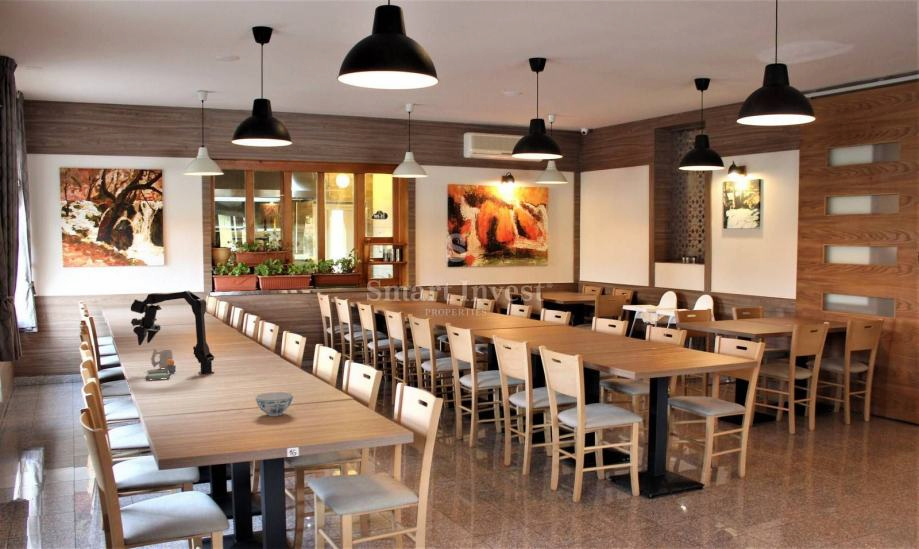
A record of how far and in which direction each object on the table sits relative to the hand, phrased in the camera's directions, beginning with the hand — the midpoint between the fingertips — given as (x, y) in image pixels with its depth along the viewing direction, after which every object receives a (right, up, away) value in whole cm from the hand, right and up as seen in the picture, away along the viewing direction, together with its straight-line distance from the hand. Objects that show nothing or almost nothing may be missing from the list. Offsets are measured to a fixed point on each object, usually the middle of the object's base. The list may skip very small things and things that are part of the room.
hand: (143, 344), depth 422 cm
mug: (+5, -15, +13) cm, 21 cm away
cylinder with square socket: (+15, -15, -1) cm, 21 cm away
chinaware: (+94, -20, -102) cm, 140 cm away
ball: (+15, -10, -1) cm, 18 cm away
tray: (+13, -16, -15) cm, 26 cm away
